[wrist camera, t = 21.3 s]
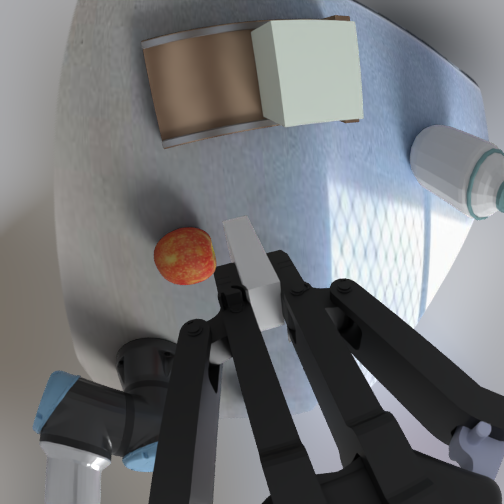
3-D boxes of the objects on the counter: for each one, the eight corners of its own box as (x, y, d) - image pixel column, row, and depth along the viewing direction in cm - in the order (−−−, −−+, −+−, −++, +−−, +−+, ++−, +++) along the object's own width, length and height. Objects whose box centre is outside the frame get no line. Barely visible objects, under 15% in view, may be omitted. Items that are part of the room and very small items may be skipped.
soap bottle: (413, 196, 51) (540, 300, 25) (393, 140, 44) (556, 235, 18) (454, 163, 49) (579, 245, 23) (439, 108, 42) (592, 177, 16)
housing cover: (263, 116, 35) (285, 127, 28) (250, 32, 29) (270, 20, 22) (329, 108, 36) (363, 118, 29) (320, 29, 30) (354, 21, 23)
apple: (215, 259, 48) (222, 291, 42) (162, 268, 47) (162, 302, 41) (207, 213, 44) (214, 240, 37) (150, 224, 43) (147, 253, 36)
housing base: (165, 144, 37) (162, 156, 32) (144, 43, 29) (137, 36, 24) (335, 114, 40) (359, 121, 35) (325, 22, 32) (349, 16, 27)
